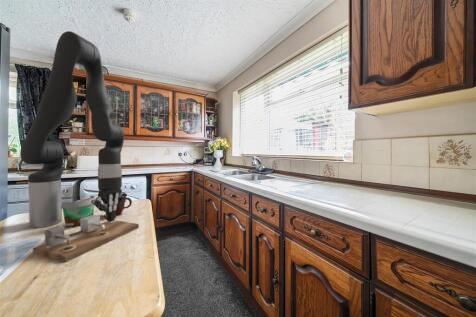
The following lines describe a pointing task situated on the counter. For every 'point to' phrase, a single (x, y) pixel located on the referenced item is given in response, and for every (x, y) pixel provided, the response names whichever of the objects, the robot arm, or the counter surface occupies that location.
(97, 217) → the leg
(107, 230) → the hole board
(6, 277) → the counter surface
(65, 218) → the food container
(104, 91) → the robot arm
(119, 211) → the mug
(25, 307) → the counter surface
